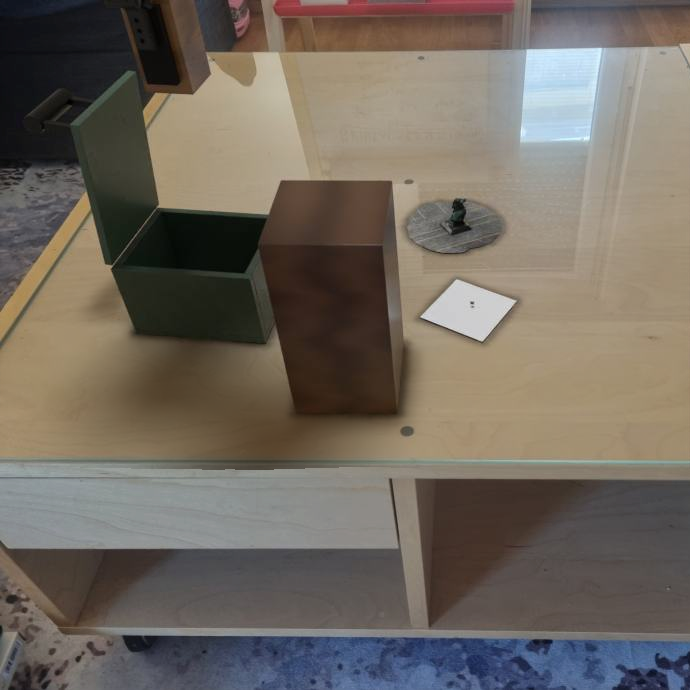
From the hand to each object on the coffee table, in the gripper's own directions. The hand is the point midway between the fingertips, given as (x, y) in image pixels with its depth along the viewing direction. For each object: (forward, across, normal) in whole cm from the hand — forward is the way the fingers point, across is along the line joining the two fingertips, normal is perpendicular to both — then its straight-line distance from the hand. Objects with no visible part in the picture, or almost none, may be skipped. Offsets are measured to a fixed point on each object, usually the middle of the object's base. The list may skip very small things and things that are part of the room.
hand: (175, 70), depth 67 cm
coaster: (+27, +2, -26) cm, 38 cm away
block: (+1, 0, 0) cm, 1 cm away
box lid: (+10, 0, +8) cm, 13 cm away
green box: (+27, 0, +2) cm, 27 cm away
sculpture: (+28, +19, -22) cm, 40 cm away
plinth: (+27, -10, -16) cm, 33 cm away
